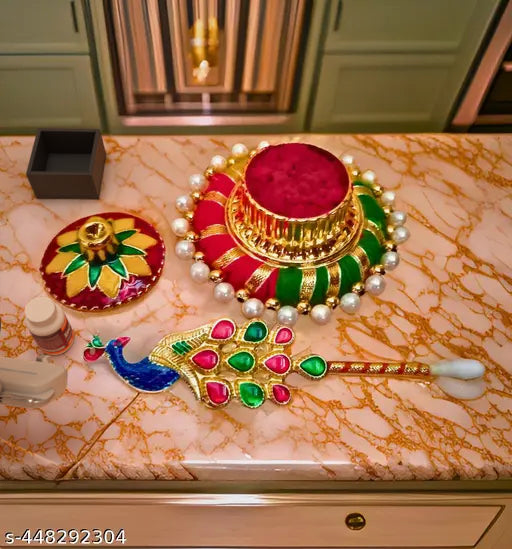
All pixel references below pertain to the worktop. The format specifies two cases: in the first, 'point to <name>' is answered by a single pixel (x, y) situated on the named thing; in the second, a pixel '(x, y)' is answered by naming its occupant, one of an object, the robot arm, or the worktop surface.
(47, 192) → the trash bin
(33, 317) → the pill bottle
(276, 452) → the worktop surface
